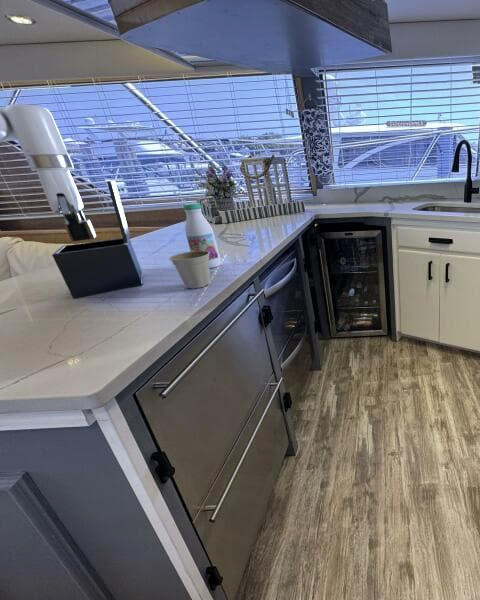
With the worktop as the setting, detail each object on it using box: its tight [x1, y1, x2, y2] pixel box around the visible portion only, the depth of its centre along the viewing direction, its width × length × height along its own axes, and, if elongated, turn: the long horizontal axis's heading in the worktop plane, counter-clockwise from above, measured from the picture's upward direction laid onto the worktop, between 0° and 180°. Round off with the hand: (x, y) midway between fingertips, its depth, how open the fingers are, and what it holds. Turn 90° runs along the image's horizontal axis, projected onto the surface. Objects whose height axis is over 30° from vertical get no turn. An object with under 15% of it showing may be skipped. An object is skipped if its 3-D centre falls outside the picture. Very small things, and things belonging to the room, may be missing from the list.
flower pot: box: [168, 251, 212, 289], centre depth 87 cm, size 9×9×9 cm
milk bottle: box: [182, 202, 222, 269], centre depth 102 cm, size 8×8×20 cm
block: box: [63, 219, 97, 242], centre depth 85 cm, size 4×4×4 cm
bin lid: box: [106, 180, 131, 243], centre depth 88 cm, size 15×13×1 cm
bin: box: [51, 237, 144, 300], centre depth 89 cm, size 15×13×12 cm
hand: (83, 237), depth 85 cm, fingers closed on block, 4 cm apart
